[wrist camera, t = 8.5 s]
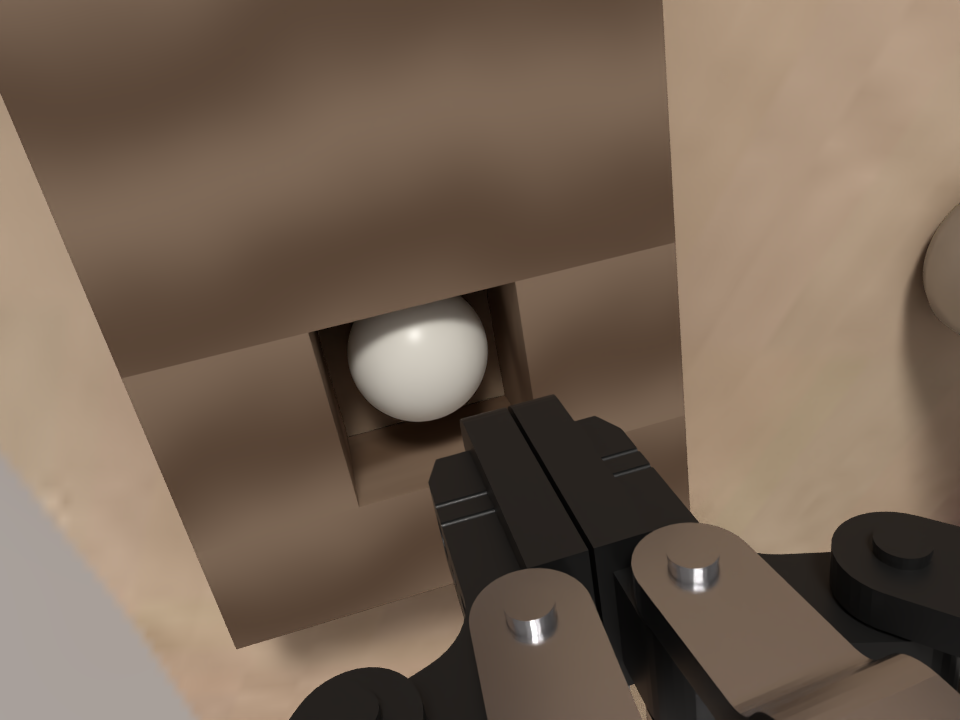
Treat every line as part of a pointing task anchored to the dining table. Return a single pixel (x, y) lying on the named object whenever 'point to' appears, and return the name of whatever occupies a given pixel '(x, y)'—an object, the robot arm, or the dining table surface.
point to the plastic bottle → (944, 271)
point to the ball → (419, 359)
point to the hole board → (351, 249)
